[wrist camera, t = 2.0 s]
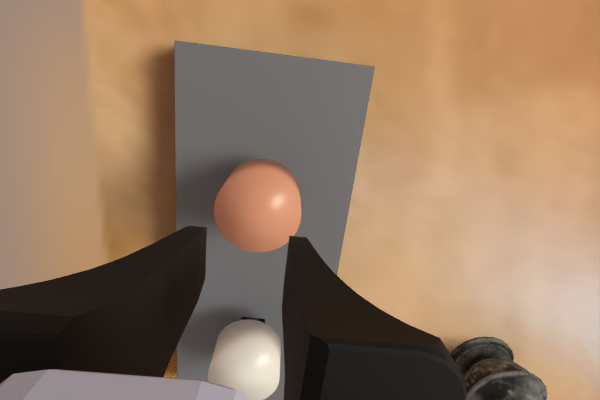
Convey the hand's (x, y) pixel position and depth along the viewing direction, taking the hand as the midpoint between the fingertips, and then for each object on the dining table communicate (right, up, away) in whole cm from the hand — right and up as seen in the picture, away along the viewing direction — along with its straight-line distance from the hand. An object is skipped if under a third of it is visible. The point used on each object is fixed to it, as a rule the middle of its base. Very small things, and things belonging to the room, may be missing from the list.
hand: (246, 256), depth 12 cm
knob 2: (-1, -7, +11) cm, 13 cm away
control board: (-1, -1, +12) cm, 12 cm away
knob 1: (0, +3, +7) cm, 8 cm away
